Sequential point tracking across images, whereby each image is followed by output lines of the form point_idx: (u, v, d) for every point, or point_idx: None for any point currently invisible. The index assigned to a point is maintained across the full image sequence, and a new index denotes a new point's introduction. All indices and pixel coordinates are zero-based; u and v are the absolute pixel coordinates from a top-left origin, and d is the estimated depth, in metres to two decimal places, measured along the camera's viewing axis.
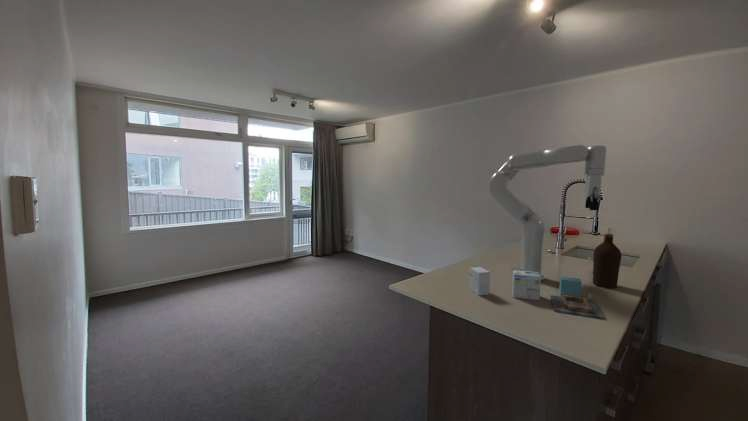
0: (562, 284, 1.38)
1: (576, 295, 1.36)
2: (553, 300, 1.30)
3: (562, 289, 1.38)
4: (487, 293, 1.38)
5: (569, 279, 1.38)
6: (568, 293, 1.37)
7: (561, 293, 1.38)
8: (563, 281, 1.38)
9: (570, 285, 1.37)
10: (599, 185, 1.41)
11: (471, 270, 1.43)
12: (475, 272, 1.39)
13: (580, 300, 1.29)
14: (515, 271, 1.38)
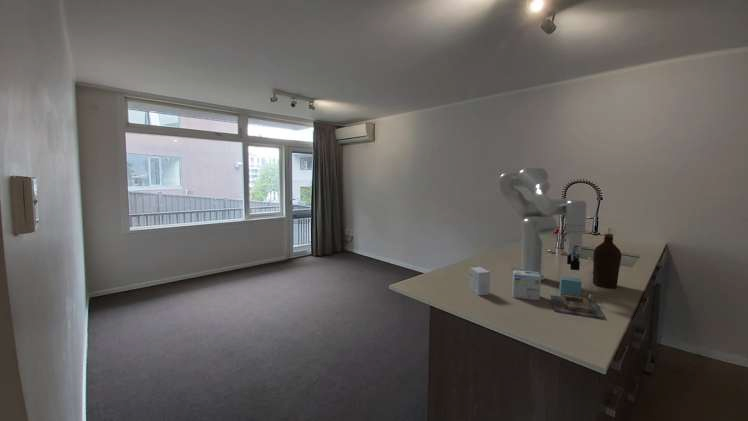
0: (562, 284, 1.38)
1: (576, 295, 1.36)
2: (553, 300, 1.30)
3: (562, 289, 1.38)
4: (487, 293, 1.38)
5: (569, 279, 1.38)
6: (568, 293, 1.37)
7: (561, 293, 1.38)
8: (563, 281, 1.38)
9: (570, 285, 1.37)
10: (580, 243, 1.31)
11: (471, 270, 1.43)
12: (475, 272, 1.39)
13: (580, 300, 1.29)
14: (515, 271, 1.38)
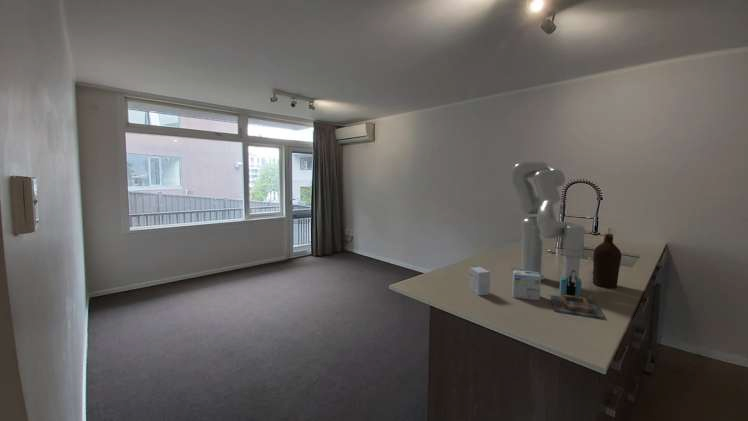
0: (562, 284, 1.38)
1: (576, 295, 1.36)
2: (553, 300, 1.30)
3: (562, 289, 1.38)
4: (487, 293, 1.38)
5: None
6: None
7: (561, 293, 1.38)
8: (563, 281, 1.37)
9: None
10: (577, 268, 1.33)
11: (471, 270, 1.43)
12: (475, 272, 1.39)
13: (580, 300, 1.29)
14: (515, 271, 1.38)
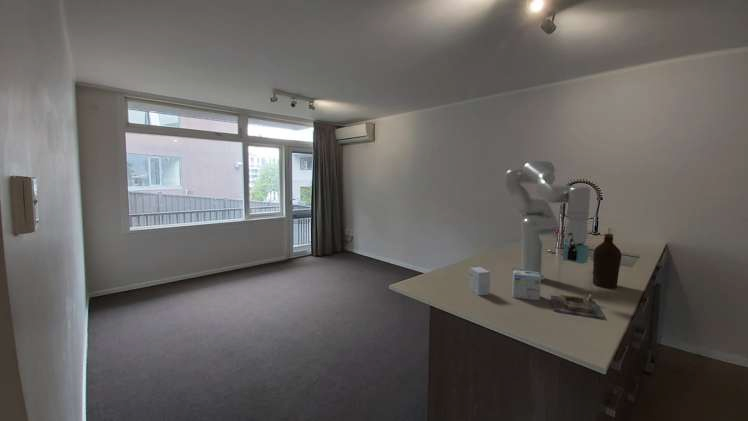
0: (564, 249, 1.33)
1: (578, 261, 1.29)
2: (553, 300, 1.30)
3: (564, 254, 1.33)
4: (487, 293, 1.38)
5: None
6: None
7: (564, 258, 1.33)
8: (565, 245, 1.33)
9: None
10: (574, 231, 1.27)
11: (471, 270, 1.43)
12: (475, 272, 1.39)
13: (580, 300, 1.29)
14: (515, 271, 1.38)
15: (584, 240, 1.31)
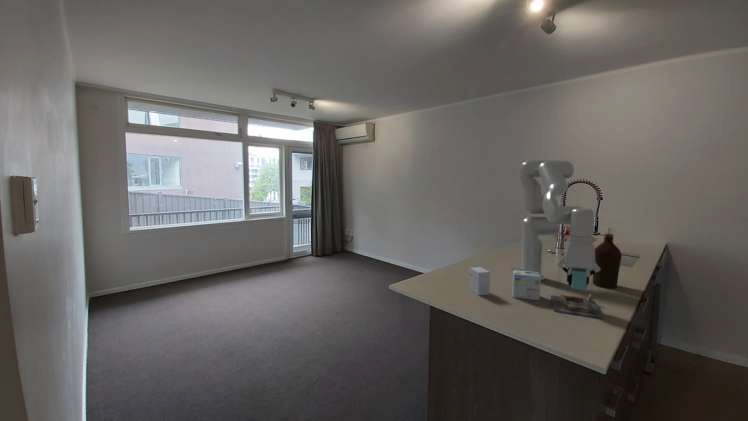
0: None
1: (571, 286, 1.23)
2: (553, 300, 1.30)
3: None
4: (487, 293, 1.38)
5: (576, 269, 1.24)
6: None
7: None
8: None
9: (571, 274, 1.25)
10: (565, 253, 1.23)
11: (471, 270, 1.43)
12: (475, 272, 1.39)
13: (580, 300, 1.29)
14: (515, 271, 1.38)
15: (587, 267, 1.20)
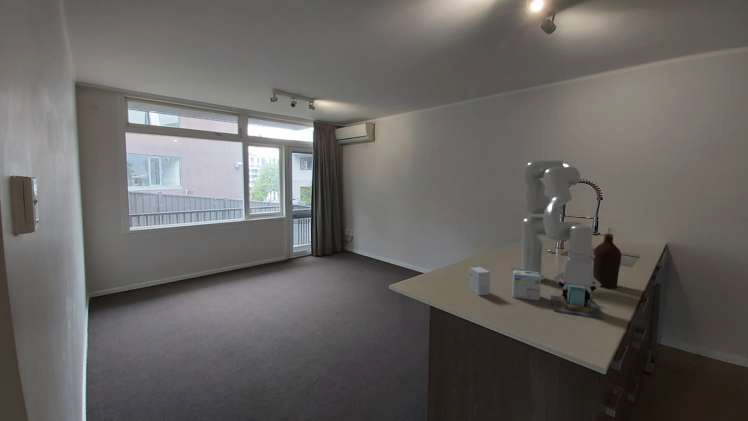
0: (568, 290, 1.29)
1: (569, 304, 1.24)
2: (553, 300, 1.30)
3: None
4: (487, 293, 1.38)
5: (574, 287, 1.25)
6: (568, 301, 1.27)
7: (567, 299, 1.29)
8: (568, 287, 1.28)
9: (569, 292, 1.26)
10: (564, 270, 1.24)
11: (471, 270, 1.43)
12: (475, 272, 1.39)
13: None
14: (515, 271, 1.38)
15: (585, 283, 1.21)
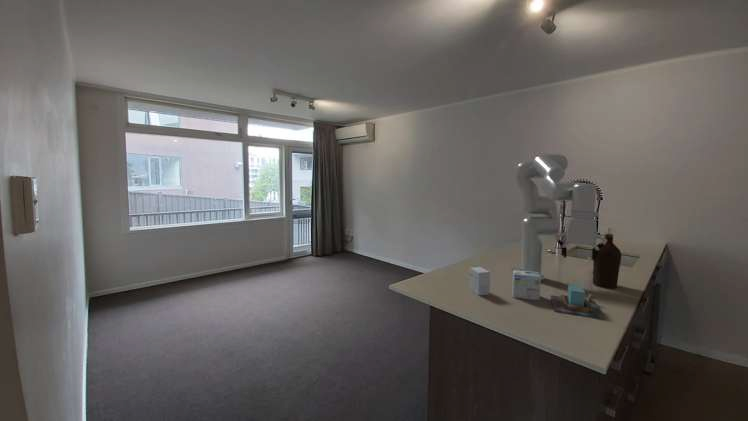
0: (568, 290, 1.29)
1: (569, 304, 1.24)
2: (553, 300, 1.30)
3: None
4: (487, 293, 1.38)
5: (574, 287, 1.25)
6: (568, 301, 1.27)
7: (567, 299, 1.29)
8: (568, 287, 1.28)
9: (569, 292, 1.26)
10: (567, 229, 1.23)
11: (471, 270, 1.43)
12: (475, 272, 1.39)
13: None
14: (515, 271, 1.38)
15: (588, 242, 1.20)
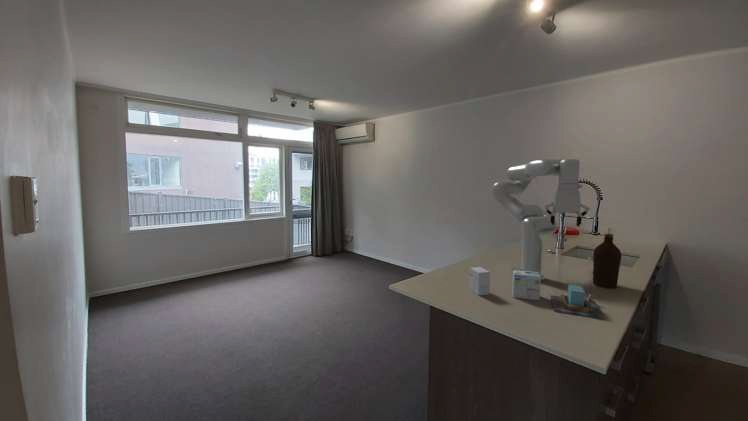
0: (568, 290, 1.29)
1: (569, 304, 1.24)
2: (553, 300, 1.30)
3: None
4: (487, 293, 1.38)
5: (574, 287, 1.25)
6: (568, 301, 1.27)
7: (567, 299, 1.29)
8: (568, 287, 1.28)
9: (569, 292, 1.26)
10: (555, 200, 1.40)
11: (471, 270, 1.43)
12: (475, 272, 1.39)
13: None
14: (515, 271, 1.38)
15: (573, 210, 1.37)
